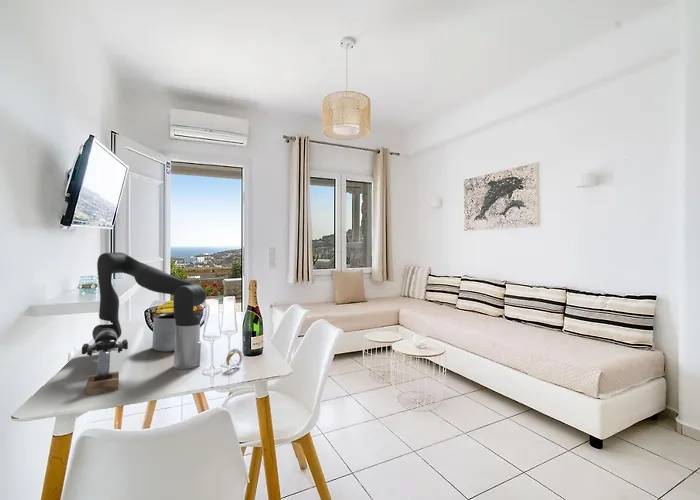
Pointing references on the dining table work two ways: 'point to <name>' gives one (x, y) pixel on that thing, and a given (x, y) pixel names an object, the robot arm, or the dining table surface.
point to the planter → (164, 332)
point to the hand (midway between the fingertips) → (105, 351)
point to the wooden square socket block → (102, 383)
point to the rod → (103, 365)
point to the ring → (233, 354)
